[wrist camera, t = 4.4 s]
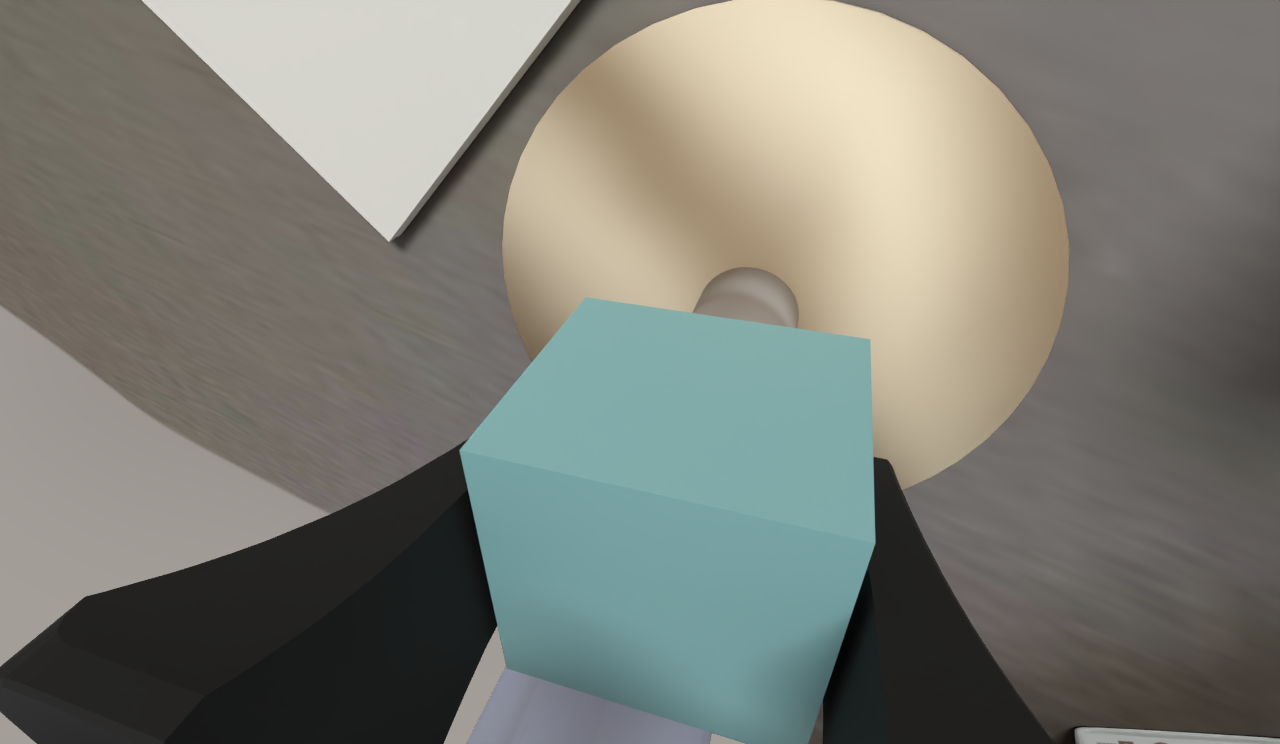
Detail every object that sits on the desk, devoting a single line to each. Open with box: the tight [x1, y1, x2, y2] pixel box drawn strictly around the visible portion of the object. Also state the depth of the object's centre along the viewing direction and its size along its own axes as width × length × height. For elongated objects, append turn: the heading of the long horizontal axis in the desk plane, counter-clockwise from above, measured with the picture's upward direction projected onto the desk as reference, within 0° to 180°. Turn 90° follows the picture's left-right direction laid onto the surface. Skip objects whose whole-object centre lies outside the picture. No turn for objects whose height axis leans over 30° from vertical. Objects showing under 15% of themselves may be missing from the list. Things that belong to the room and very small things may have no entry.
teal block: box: [459, 297, 875, 744], centre depth 10 cm, size 5×5×4 cm
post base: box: [502, 0, 1069, 490], centre depth 15 cm, size 14×14×4 cm
